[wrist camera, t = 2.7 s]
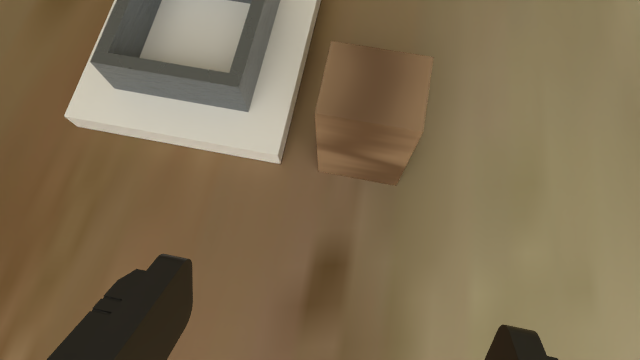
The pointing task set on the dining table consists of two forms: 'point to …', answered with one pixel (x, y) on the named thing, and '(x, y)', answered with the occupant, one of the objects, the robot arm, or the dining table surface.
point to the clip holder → (198, 73)
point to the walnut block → (370, 111)
